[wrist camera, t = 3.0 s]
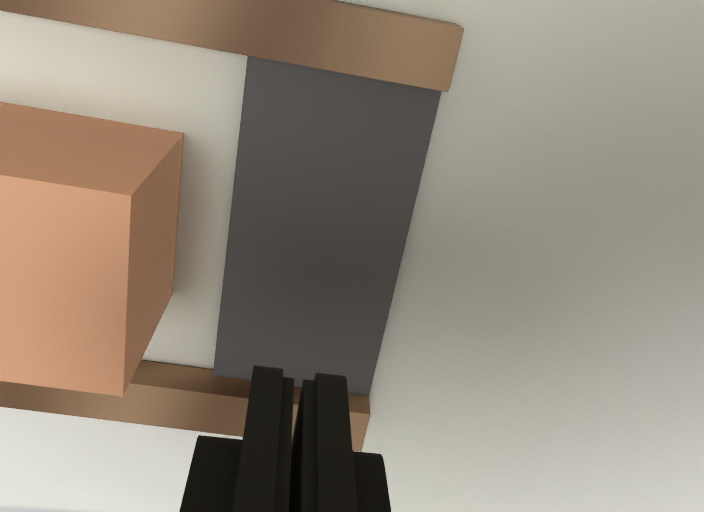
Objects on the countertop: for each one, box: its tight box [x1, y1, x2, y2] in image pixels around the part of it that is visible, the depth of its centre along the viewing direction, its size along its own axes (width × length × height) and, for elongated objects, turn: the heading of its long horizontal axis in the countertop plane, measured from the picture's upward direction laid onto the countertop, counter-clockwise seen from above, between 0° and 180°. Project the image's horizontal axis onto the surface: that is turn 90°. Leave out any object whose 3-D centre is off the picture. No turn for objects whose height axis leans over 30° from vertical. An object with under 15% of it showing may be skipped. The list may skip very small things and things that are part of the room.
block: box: [0, 102, 184, 397], centre depth 16 cm, size 5×5×5 cm
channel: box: [0, 0, 464, 451], centre depth 17 cm, size 20×13×1 cm, turn 80°
